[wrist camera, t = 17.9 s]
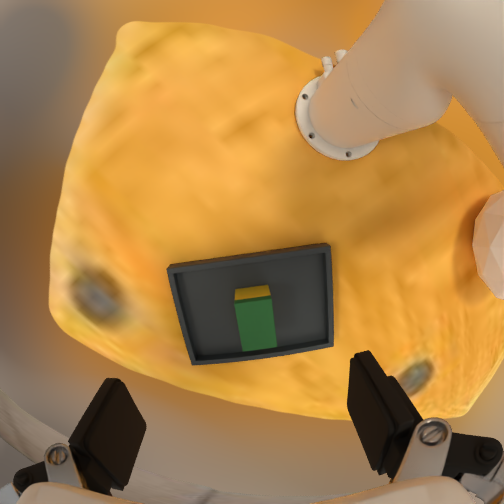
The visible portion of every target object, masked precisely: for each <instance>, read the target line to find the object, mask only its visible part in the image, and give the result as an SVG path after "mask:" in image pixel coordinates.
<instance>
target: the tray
mask: <svg viewBox="0 0 504 504" xmlns="http://www.w3.org/2000/svg"><path fill="white" fill-rule="evenodd" d="M167 274H168V278H169V282H170V287H171V291H172V295H173V299H174V303H175V307H176V311H177V315H178V319H179V322H180V326H181V330H182V333H183V337H184V340H185V344H186V347H187V351H188V354H189V357H190V360H191V364H192V365H206V364H219V363H229V362H239V361H248V360H256V359H263V358H270V357H277V356H284V355H290V354H296V353H302V352H307V351H313V350H318V349H323V348H328V347H333V346H334V315H333V281H332V262H331V246H330V245H328V244H327V243H320V244H313V245H306V246H299V247H292V248H284V249H277V250H270V251H263V252H256V253H249V254H242V255H234V256H227V257H220V258H213V259H206V260H199V261H192V262H184V263H177V264H170V265H169V267H168V268H167ZM262 285H268V286H269V290H270V294H271V298H272V306H273V314H274V323H275V331H276V340H277V347H273V348H266V349H259V350H251V351H243V350H242V344H241V339H240V333H239V328H238V323H237V317H236V311H235V306H234V301H235V289H240V288H248V287H255V286H262Z"/></svg>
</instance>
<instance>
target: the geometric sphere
mask: <svg viewBox="0 0 504 504" xmlns="http://www.w3.org/2000/svg"><path fill="white" fill-rule="evenodd" d="M472 247H473V252H474V256H475V261H476V266H477V272H478V275H479V277H480V278H481V279H482V280H483V281H484V283H485V284H486V285H487V286H488V288H489V289H490V290H491V291H492V293H493V294H494V295H495V297H496V298H500V299H503V300H504V190H502V191H500V192H498V193H495V194H493V195H491V196H490V197H489V199H488V201H487V202H486V204H485V205H484V207H483V208H482V210H481V212H480V213H479V215H478V216H477V218H476V219H475V227H474V236H473V244H472Z"/></svg>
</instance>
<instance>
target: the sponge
mask: <svg viewBox="0 0 504 504" xmlns="http://www.w3.org/2000/svg"><path fill="white" fill-rule="evenodd" d="M234 306H235V311H236V317H237V323H238V328H239V333H240V339H241V344H242V350H243V351H251V350H259V349H266V348H273V347H277V340H276V331H275V323H274V314H273V306H272V298H271V294H270V290H269V286H268V285H262V286H255V287H248V288H240V289H235V301H234Z"/></svg>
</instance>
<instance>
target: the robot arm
mask: <svg viewBox="0 0 504 504" xmlns="http://www.w3.org/2000/svg"><path fill="white" fill-rule="evenodd" d="M335 56H336V60H337V65H336V66H335V68H334V69H333V64H332V60H331V58H330V57H322V58H321V61H322V65H323V67H324V71H325V72H324V73H323V74H322V76H320V77H317V78H315V79H313V80H311V81H310V82H309V83H308V84H307V85H305V86H304V88H303V89H302V91H301V92H300V94H299V96H298V98H297V102H296V107H295V115H296V121H297V124H298V127H299V130H300V132H301V133H302V135H303V137H304V138H305V140H306V141H307V142H308V143H309V144H310V146H312V147H313V148H314V149H315V150H316V151H318V152H319V153H321V154H323V155H324V156H327V157H329V158H332V159H336V160H354V159H358V158H361V157H363V156H365V155H367V154H369V153H370V152H371V151H372V150H373V149H374V148H375V147H376V145H377V144H378V142H379V140H381V139H384V138H387V137H391V136H394V135H398V134H401V133H405V132H408V131H412V130H415V129H418V128H422V127H425V126H428V125H430V124H433V123H434V122H436V121H437V120H439V119H440V118H441V117H442V116H443V114H444V113H445V112H446V110H447V108H448V106H449V104H450V102H451V99H452V95H453V96H454V97H455V98H456V99H457V101H458V102H459V103H460V104H461V105H462V106H463V108H464V109H465V110H466V111H467V113H468V114H469V115H470V116H471V117H472V119H473V120H474V121H475V123H476V124H477V126H478V127H479V129H480V130H481V132H482V133H483V134H484V136H485V138H486V139H487V141H488V142H489V144H490V146H491V147H492V149H493V151H494V152H495V154H496V156H497V157H498V159H499V160H500V162H501V164H502V165H503V167H504V0H384V2H383V4H382V6H381V8H380V10H379V11H378V13H377V15H376V16H375V18H374V19H373V20H372V22H371V24H370V25H369V26H368V27H367V28H366V30H365V31H364V32H363V34H362V35H361V36H360V37H359V39H358V40H357V41H356V42H355V43H354V44H353V46H352V47H351V48H350V50H349V51H346V50H338V51H336V52H335ZM302 97H304V98H305V100H304V99H303V98H302ZM309 135H311V136H312V138H309ZM346 153H347V154H348V156H346ZM347 408H348V411H349V414H350V416H351V419H352V421H353V423H354V426H355V428H356V431H357V433H358V436H359V438H360V440H361V443H362V445H363V448H364V450H365V453H366V455H367V458H368V461H369V463H370V466H371V468H372V470H374V471H375V470H377V472H378V474H379V475H382V474H384V473H387V475H388V477H389V478H391V480H390V482H389V484H387V485H383V486H380V487H377V488H373V489H370V490H366V491H362V492H359V493H355V494H352V495H348V496H344V497H340V498H335V499H331V500H326V501H321V502H316V503H311V504H476V503H475V501H474V500H473V498H472V497H471V495H470V494H469V493H468V491H471V492H473V493H475V494H476V497H478V498H480V499H481V500H483V501H484V504H504V451H503V448H502V445H501V443H500V442H499V441H498V440H496V439H494V438H489V437H481V436H473V435H465V434H459V433H453V432H452V429H451V426H450V425H449V423H448V422H447V421H445V420H443V419H441V418H427V419H425V420H423V419H422V417H421V416H420V414H419V413H418V411H417V410H416V408H415V407H414V405H413V404H412V402H411V401H410V399H409V398H408V396H407V395H406V393H405V392H404V390H403V389H402V387H401V386H400V384H399V383H398V382H397V380H396V379H395V378H394V377H393V376H388V377H387V376H386V374H385V373H384V371H383V370H382V368H381V367H380V365H379V364H378V362H377V361H376V359H375V358H374V356H373V355H372V353H371V352H370V351H369V350H367V351H364V352H360V353H356V354H355V355H354V358H351V359H350V373H349V387H348V398H347ZM145 431H146V422H145V420H144V419H143V417H142V415H141V414H140V412H139V410H138V408H137V407H136V405H135V403H134V401H133V399H132V397H131V395H130V393H129V392H128V390H127V388H126V386H125V384H124V383H123V382H121V380H120V379H117V378H106V379H105V381H104V382H103V384H102V385H101V387H100V388H99V390H98V392H97V393H96V395H95V396H94V398H93V400H92V402H91V403H90V405H89V407H88V408H87V410H86V411H85V413H84V415H83V416H82V418H81V420H80V421H79V423H78V425H77V427H76V428H75V430H74V432H73V434H72V435H71V437H70V439H69V440H68V442H69V443H70V445H69V447H68V446H67V445H65V444H63V443H57V444H54V445H51V446H50V447H49V448H48V449H47V450H46V452H45V454H44V461H43V462H40V463H37V464H35V465H32V466H29V467H26V468H23V469H21V470H19V471H18V472H17V473H16V474H15V476H14V479H13V482H14V484H13V483H12V482H10V483H8V484H7V485H5V486H4V487H2V488H1V489H0V504H143V503H138V502H133V501H128V500H124V499H120V498H116V497H113V496H112V494H111V492H110V489H111V488H113V489H117V490H121V491H123V489H124V486H126V485H127V484H128V482H129V479H130V476H131V473H132V469H133V466H134V463H135V460H136V457H137V454H138V452H139V449H140V446H141V443H142V440H143V437H144V434H145Z"/></svg>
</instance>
